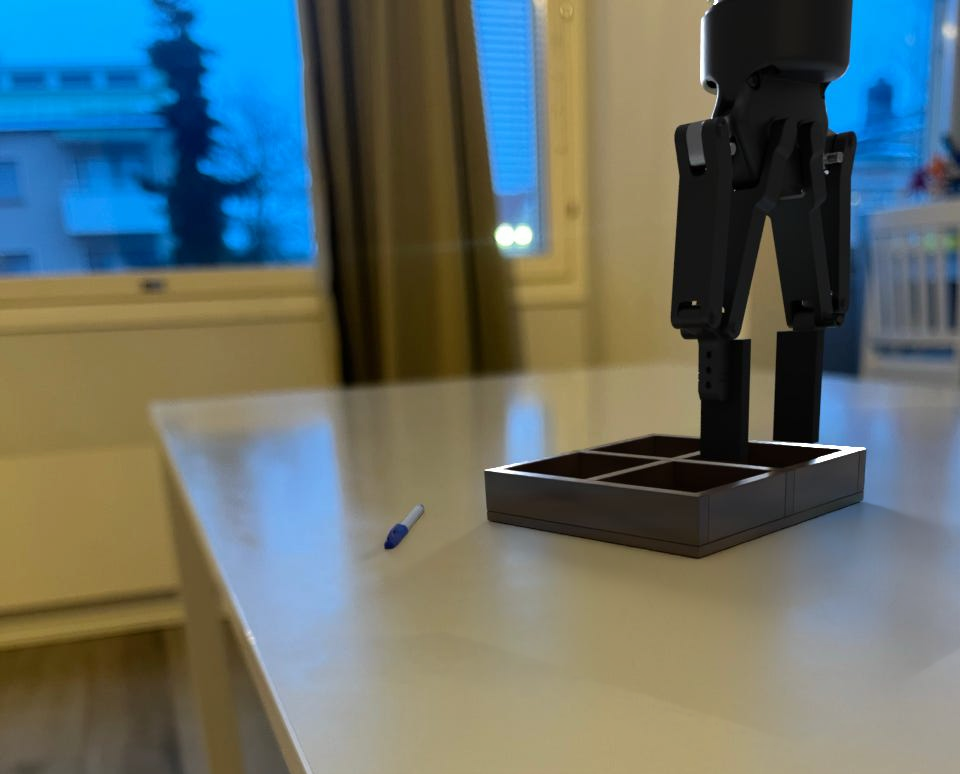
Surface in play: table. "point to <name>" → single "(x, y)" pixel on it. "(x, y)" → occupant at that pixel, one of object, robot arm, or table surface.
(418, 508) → the blue and white marker
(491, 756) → the table surface
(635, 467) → the grid
